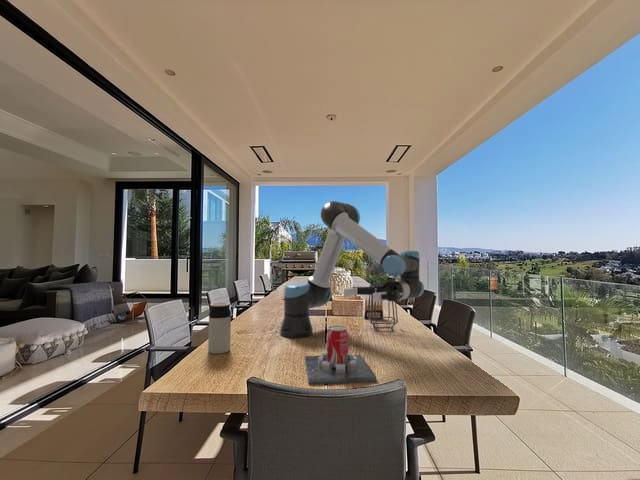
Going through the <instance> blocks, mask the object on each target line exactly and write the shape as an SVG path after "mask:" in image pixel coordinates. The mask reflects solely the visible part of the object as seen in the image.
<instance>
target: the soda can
mask: <svg viewBox="0 0 640 480" xmlns="http://www.w3.org/2000/svg"><path fill="white" fill-rule="evenodd" d="M325 348H326V351H325V353H326V358H327V362H331V363H332V368H336V363H345V366H346V365H347V364H348V353H349V332H348V331H347V327H346V326H342V325H331V326H329V327H328V330H327V331H326V347H325Z"/></svg>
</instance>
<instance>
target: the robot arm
mask: <svg viewBox="0 0 640 480" xmlns="http://www.w3.org/2000/svg"><path fill="white" fill-rule="evenodd" d="M320 218H321V221H322V223H323V224H324V225H325V226H326V228H327V231H328V233H327V235H326V238H325V242H324V243H323V247H322V250H321V251H320V255H319V258H318V260H317V262H316V266H315V269H314V272H313V274H312V275H311V276H309V277H308V279H307V282H306V281H297V282H291V283H288V284H286V285H285V286H284V293H283V295H284V296H283V297H284V299H283V301H284V303H283V304H284V306H283V310H284V311H283V312H284V313H283V314H284V315H283V319H282V322H281V325H280V329H279V332H280V333H279V334H280V335H281V336H282V337H286V338H297V339H298V338H306V337H310V336H312V335H313V331H314V330H313V325H312V322H311V318H310V309H314V308H318V307H322V306H325V305H327V304H328V303H329V302H330V300H331V298H332V291H331V286H332V285H331V283H330V280H331V277H332V275H333V272H334V270H335V267H336V264H337V262H338V258H339V257H340V254H341V250H342V248H343V246H344V243H345V240H348V241H349V242H350V243H352V244H353V245H354V246H356V247H357V248H358V249H359V250H361V251H362V252H363V253H365V254H366V255H367V256H368V257H370V258H371V259H373V260H374V262H378V265H379V264H380V265H381V267H382V266H383V268H382V270H384V271H383V272H385V273H386V275H387V276H389V275H391V276H392V277H394V276H397V277H398V276H399V277H400V278H399V280H393V281H392V280H389V282H387V281H386V282H385V283H383V284H384V285H378V286H375V285H373V287H370V286H352V288H351V287H350V288H344V289H343V297H345V298H346V297H357V296H358V295H359V296H360V295H363V296H364V295H366V296H369V295H370V296H371V295H373V303H374V302H376V303H377V301H379V302H380V301H382V302H383V301H390V302H392V301H393V302H395V301H396V302H397V301H398V302H401V301H403V300H408V299H416V298H419V297H421V296H422V295H424V291H425V285H424V283H423V281H421V280H420V261H421V259H420V252H419V251H418V250H401V251H400V254H399V253H398V252H397V251H395V250H393V248H391V247H390V246H389V245H388V244H385V243H384V242H383V241H381V240H380V239H379V238H377V237H376V236H375V235H374V234H372V233H371V232H369V231H368V230H367V229H365V228H364V227H362V226H361V225H360V220H361V215H360V211H359V210H358V208H357V207H355V206H354V205H352V204H349V203H344V202H340V201H336V200H335V201H329V202H327V203H325V204H324V205H323V206H322V208H321V210H320Z"/></svg>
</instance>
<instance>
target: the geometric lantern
mask: <svg viewBox="0 0 640 480" xmlns="http://www.w3.org/2000/svg"><path fill="white" fill-rule="evenodd" d="M377 266H378V267H377ZM376 267H377V269H376ZM363 270H364V273H365V275H366V278H368V281H369V287H373V286H375V287H377V286H383V285H384V284H385V283H379V282H380V280H381V279H382V280H383V279H385V281H386V282H389V281H390V280H389V279H388V278H389V277H390V276H391V275H387V273H385V271H384V270H383V266H381V265H380V264H379V263H378V262H376V261H374V262H373V263H371V264H370V265H369V266H367V267H366V268H364V269H363ZM370 273H371V274H372V275H374V276H375V278H374V280H373V281H372V282H371V278H370ZM392 277H393V278H392V279H391V281H395V280H396V279H397V277H398V276H392ZM377 278H378V281H377V282H375V281H376V279H377ZM374 283H375V284H374ZM368 300H369V317H368V319H367V320H369V323H370V324H371V325H372V327H373V328H372V329H374V330H375V331H376V332H380V329H383V328H386V329H387V328H388V329H390V331H391V332H394V326H396V325H397V324H398V322H399V320H398V319H399V318H398V310H397V301H388V300H387V301H388V316H383V317H376V305H377V301H376V302H373V295H368ZM390 302H391V306H392V316H390V313H391V312H390V311H391V310H390V308H391V307H390ZM370 305H371V318H370ZM373 305H375V317H372V315H373ZM394 305H395V308H394ZM395 315H396V316H395ZM372 318H375V319H372ZM376 318H383V319H387V322H377V319H376ZM389 319H391V320H390V321H389ZM379 325H389V326H379Z"/></svg>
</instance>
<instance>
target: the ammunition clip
mask: <svg viewBox="0 0 640 480" xmlns="http://www.w3.org/2000/svg"><path fill="white" fill-rule="evenodd" d="M383 310H384V307H383V301H376V317H384V311H383ZM363 315H364V316H363V319H364V320H369V319H368V317H369V299H367V298H365V300H364V314H363ZM372 317H375V305H374V304H373V315H372ZM370 318H371V304H370ZM372 319H373V320H375V318H372ZM376 320H384V318H376Z"/></svg>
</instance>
